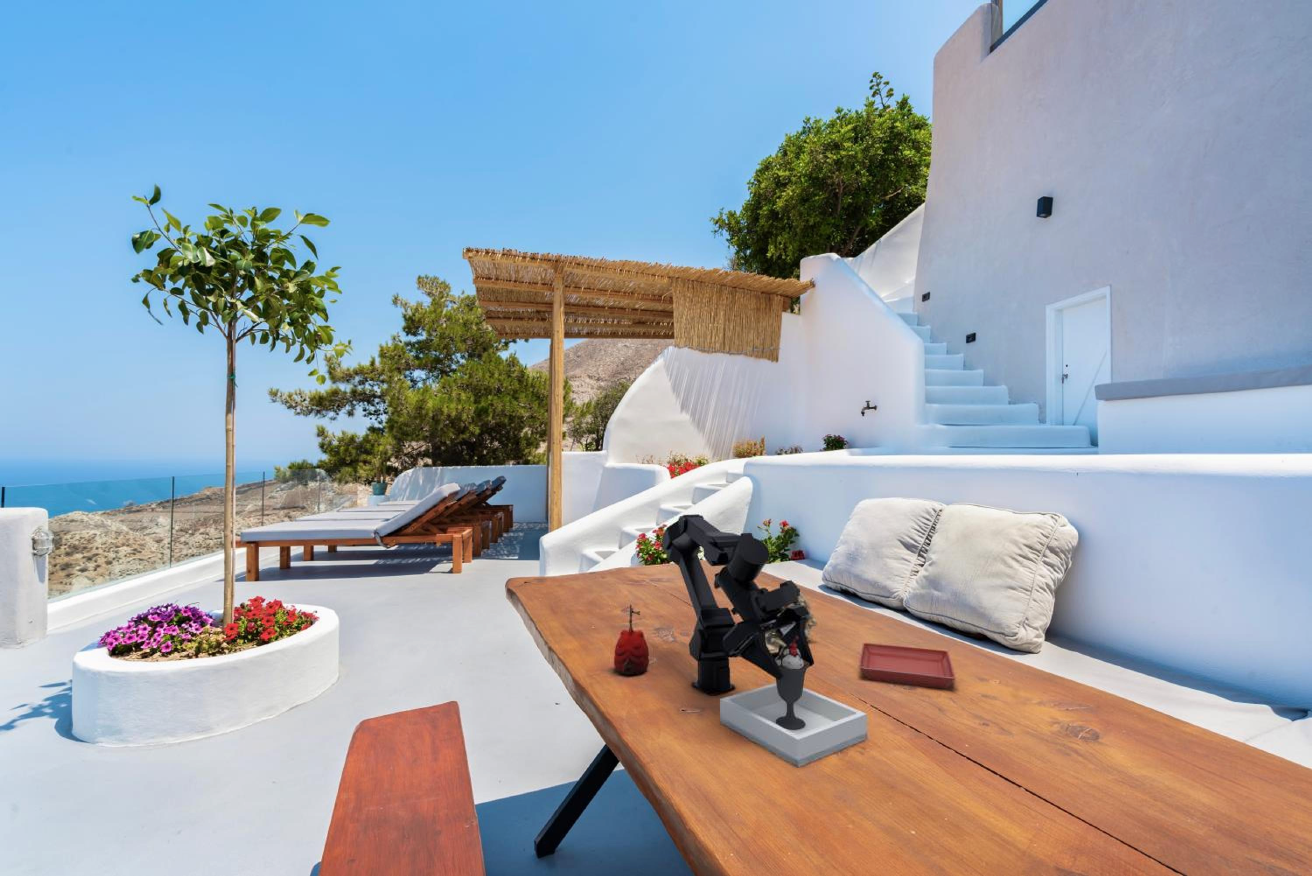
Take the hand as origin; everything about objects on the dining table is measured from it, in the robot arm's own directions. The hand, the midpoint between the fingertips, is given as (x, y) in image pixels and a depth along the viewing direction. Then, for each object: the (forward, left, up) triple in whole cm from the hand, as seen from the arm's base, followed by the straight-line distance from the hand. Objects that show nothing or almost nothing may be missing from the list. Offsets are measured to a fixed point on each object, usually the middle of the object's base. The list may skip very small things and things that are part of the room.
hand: (797, 671), depth 98 cm
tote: (-1, 0, -10) cm, 10 cm away
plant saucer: (-7, +41, -11) cm, 43 cm away
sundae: (-2, 0, -9) cm, 9 cm away
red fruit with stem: (-40, -8, -10) cm, 42 cm away
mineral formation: (-37, +38, -10) cm, 54 cm away
